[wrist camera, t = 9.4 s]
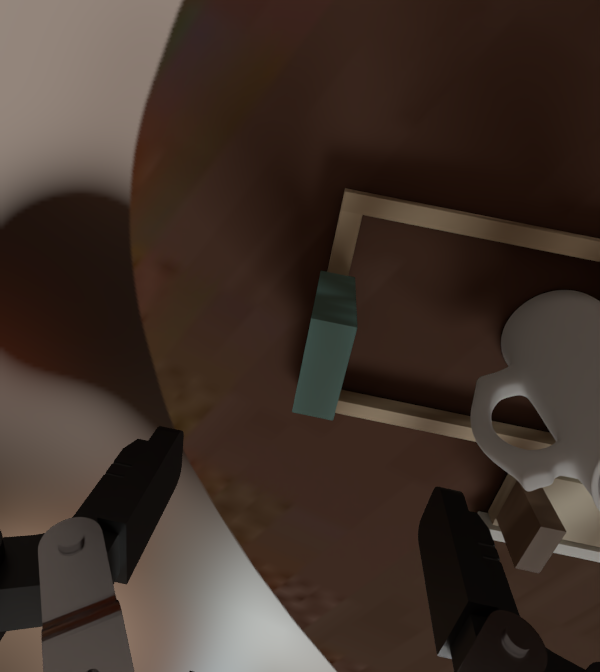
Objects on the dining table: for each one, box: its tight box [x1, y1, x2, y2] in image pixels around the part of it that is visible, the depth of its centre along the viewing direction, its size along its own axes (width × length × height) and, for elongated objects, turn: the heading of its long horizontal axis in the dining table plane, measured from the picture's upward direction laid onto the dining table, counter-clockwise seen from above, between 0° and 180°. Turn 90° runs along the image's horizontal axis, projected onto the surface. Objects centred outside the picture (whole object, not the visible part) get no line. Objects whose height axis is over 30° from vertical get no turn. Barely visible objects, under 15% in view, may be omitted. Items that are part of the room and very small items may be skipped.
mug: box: [470, 290, 600, 511], centre depth 21 cm, size 10×7×12 cm, turn 113°
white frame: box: [292, 188, 600, 450], centre depth 23 cm, size 19×14×8 cm
